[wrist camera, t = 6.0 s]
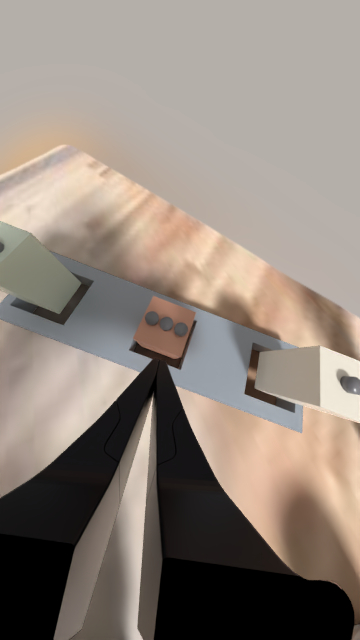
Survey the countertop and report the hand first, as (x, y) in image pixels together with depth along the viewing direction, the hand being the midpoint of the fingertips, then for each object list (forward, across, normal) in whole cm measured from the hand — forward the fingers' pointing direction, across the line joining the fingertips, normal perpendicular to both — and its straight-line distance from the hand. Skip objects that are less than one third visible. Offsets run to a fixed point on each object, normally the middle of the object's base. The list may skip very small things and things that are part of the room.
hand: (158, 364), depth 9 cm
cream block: (+5, -14, +5) cm, 16 cm away
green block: (+10, +14, 0) cm, 17 cm away
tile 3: (+9, 0, +4) cm, 10 cm away
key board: (+10, 0, +4) cm, 11 cm away
